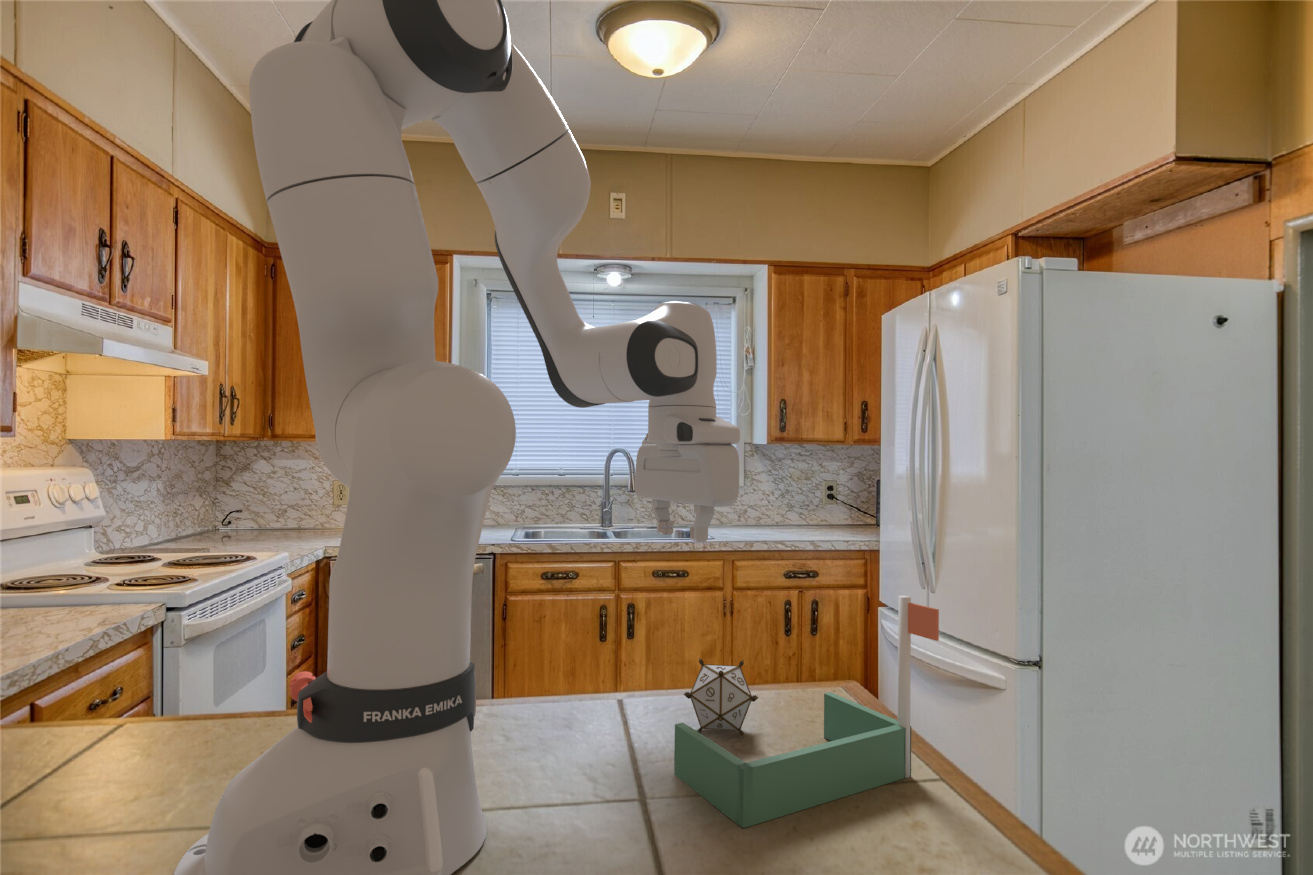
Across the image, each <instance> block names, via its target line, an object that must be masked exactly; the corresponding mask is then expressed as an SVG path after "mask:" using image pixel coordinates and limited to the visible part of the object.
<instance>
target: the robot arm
mask: <svg viewBox="0 0 1313 875" xmlns="http://www.w3.org/2000/svg"><path fill="white" fill-rule="evenodd" d="M511 39H512V38H511V32H510V25H509V21H508V16H507V14H506V11H505V7H504V4H503V2H502V0H330V1H329V3H327V4H326V6H325V7H323V9H322V10H321V11H320V12H319V13H318V14H317V16H316V17H315V18H314V20H312V21H310V22H308V23H306V24H305V25H304V26H303V27H302V28H301V29H300V31H299V32H298V33H297V35H296V37H295V38H294V40H293V42H289V43H285V44H282V45H280V46H278V47H275V48H272V49H271V50H269V51H268V52H266V53H265V54H264V55H262V57H260V58H259V60H258V61H257V62H256V64H255V65H254V67H253V69H252V71H251V74H250V78H249V82H248V84H249V85H248V86H249V88H248V90H249V108H250V118H251V119H250V120H251V126H252V129H251V130H252V136H253V137H252V138H253V144H254V149H255V155H256V161H257V166H258V171H259V177H260V181H261V185H262V189H263V190H262V191H263V193H264V197H265V200H266V201H265V202H266V205H267V208H268V211H269V216H270V219H271V223H272V226H273V230H274V234H275V237H276V241H277V245H278V248H279V252H280V256H281V260H282V263H283V266H284V269H285V274H286V278H287V281H288V284H289V288H290V292H291V297H292V300H293V306H294V309H295V313H296V320H297V325H298V331H299V341H300V348H301V349H300V350H301V354H302V356H301V357H302V362H303V364H302V365H303V368H304V369H303V370H304V376H305V381H306V389H307V394H308V399H309V404H310V405H309V406H310V410H311V416H312V421H313V425H314V433H315V443H316V448H317V451H318V454H319V456H320V459H321V460H322V462H323V464H324V465H325V467H326V468H327V470H328V471H329V472H330V473H331V475H332V476H334V478H335V479H337V481H338V482H340V483H341V484H342V485H344V486H346V487H347V488H349V489H348V490H349V491H348V492H349V493H348V501H347V507H346V512H345V519H344V525H343V528H342V534H341V539H340V543H339V548H338V552H337V556H336V560H335V562H334V565H333V568H332V569H331V572H330V576H329V590H328V591H329V592H328V596H329V597H328V620H327V621H328V622H327V623H328V625H327V626H328V628H327V634H328V635H327V664H326V665H327V666H326V667H327V668H326V669H327V670H326V671H325V672H323V673H322V674H321V675H318V676H317V677H316V676H315V675H313V672H310V671H306V670H305V671H300V672H298V673H295V674H294V675H293V678H291V679H290V681H289V682H290V683H289V684H288V686H289V694H290V697H291V698H292V699H293V700H294V701H296V702H297V703H296V722H297V726H296V727H294V728H293V729H292V730H291V731H289V732H288V733H287V734H285V735H284V736H282V738H281V739H279V740H278V741H276V743H275V744H273V745H272V746H271V747H270V748H268V749H267V750H265V751H264V752H263V753H262V754H261V755H259V756H258V757H257V758H256V759H254V760H253V761H252V762H250V763H249V764H248V765H247V766H245V767H244V768H243V769H242V770H240V771H239V772H238V773H237V774H236V775H235V776H234V777H233V778H232V779H231V780H230V782H229V783H228V784H227V786H226V788H225V789H224V791H223V794H222V795H221V797H220V798H219V802H218V804H217V805H216V808H215V811H214V813H213V817H212V820H211V823H210V827H209V831H208V833H206V834H205V835H203V836H202V837H201V838H200V839H198V840H197V841H196V842H195V843H193V844H192V845H191V846H190V847H189V848H188V850H186V851H185V853H184V854H183V855H182V857H181V858H180V860H179V861H178V864H177V865H176V867H175V869H174V872H173V873H172V875H452V874H453V873H454V872H457V870H459V869H460V868H461V867H462V866H464V865H465V864H467V862H469V860H471V859H472V858H473V857H474V856H475V855H476V854H477V853H478V851H479V850H480V849H481V847H482V846H483V844H484V841H486V840H485V839H486V837H487V830H488V829H487V823H486V819H485V817H484V813H483V810H482V805H481V801H480V796H479V791H478V786H477V778H476V772H475V766H474V756H473V747H472V746H473V745H472V733H471V732H473V730H474V725H475V724H474V723H475V717H476V711H477V677H476V670H475V665H476V664H475V663H473V661H471V660H470V659H471V636H472V635H471V633H472V632H471V631H472V630H471V629H472V603H473V602H472V598H473V596H472V595H473V580H474V578H473V577H474V570H475V563H476V557H477V550H478V547H479V543H480V540H481V535H482V530H483V526H484V522H485V519H486V515H487V511H488V507H489V503H490V499H491V495H492V493H493V492H492V491H493V489H494V486H495V485H496V482H497V481H498V480H499V478H500V477H501V475H502V474H503V473H504V471H505V470H506V468H507V467H508V465H509V462H510V461H511V459H512V457H513V453H514V450H515V445H516V440H517V439H516V438H517V437H516V436H517V427H516V420H515V415H514V412H513V410H512V406H511V404H510V403H509V401H508V398H507V396H505V394H504V392H503V391H502V389H501V388H500V387H499V386H498V385H497V384H496V383H494V382H493V380H491V379H490V378H488V376H485V375H484V374H482V373H480V372H478V371H476V370H473V369H470V368H468V367H464V366H462V365H458V364H456V363H455V364H454V363H451V362H446V361H439V360H436V344H435V342H436V341H435V340H436V339H435V308H436V302H437V298H438V293H439V278H438V272H437V268H436V264H435V261H434V257H433V252H432V249H431V248H432V247H431V244H430V240H429V236H428V232H427V228H426V224H425V218H424V217H423V211H422V208H421V204H420V199H419V194H418V190H417V187H416V183H415V179H414V177H413V172H412V169H411V164H410V162H409V161H410V160H409V159H408V156H407V151H406V149H405V146H404V143H403V140H402V130H405V129H407V128H409V127H412V126H414V125H416V124H419V123H420V122H426V121H429V120H432V121H433V122H435V123H436V125H439V126H440V127H441V128H442V129H444V130H445V131H446V132H447V133H448V134H449V135H450V138H451V140H452V142H453V144H454V146H455V148H456V149H457V151H458V154H459V156H460V157H461V159H462V162H463V163H464V165H465V167H466V169H467V171H468V172H469V174H470V175H471V177H472V180H473V181H474V182H475V184H476V186H477V187H478V189H479V191H480V192H481V195H482V197H483V199H484V201H485V204H486V206H487V208H488V210H489V212H490V215H491V219H492V221H493V223H494V229H495V231H494V243H495V249H496V252H497V255H498V259H499V261H500V263H501V265H502V268H503V270H504V273H505V276H506V277H507V279H508V281H509V284H510V286H511V288H512V290H513V293H514V295H515V296H516V298H517V301H518V303H519V305H520V307H521V309H522V310H523V313H524V315H525V317H526V319H527V321H528V323H529V325H530V328H531V329H532V332H533V334H534V336H535V338H536V340H537V342H538V345H539V347H540V350H541V353H542V356H543V360H544V364H545V368H546V372H547V374H548V379H549V381H550V383H551V386H552V387H553V390H554V391H555V392H556V394H557V395H558V396H559V397H560V398H561V400H563V401H564V402H565V403H566V404H568V405H570V406H573V407H575V408H579V409H580V408H581V409H584V408H586V409H587V408H590V407H595V406H596V407H597V406H602V405H606V404H619V403H631V402H632V403H633V402H638V401H648V407H647V410H648V411H647V412H648V414H647V415H648V416H647V417H648V420H647V422H648V423H647V433H646V435H645V437H644V440H642V443H641V445H640V446H639V447H638V451H637V455H636V462H635V472H634V491H635V494H636V497H637V498H641V499H648V500H651V509H652V511H653V514H654V515H653V516H654V517H655V518H654V519H655V520H656V533H657V534H659V535H663V536H666V535H667V536H669V535H672V534H673V533H674V520H671V516H670V511H669V508H671V502H672V503H678V504H680V503H681V504H687V505H693V514H695V519H694V523H693V526H689V534H690V535H689V539H690V541H692V542H697V543H704V542H705V543H706V542H707V541H708V539H709V527H710V526H711V522H712V520H713V518H714V515H715V508H719V507H720V508H723V507H732V506H734V505H735V504H736V502H737V500H738V498H739V493H740V457H739V456H740V455H739V451H738V449H737V447H736V446H735V445H738V444H739V443H740V440H741V439H740V438H741V430H740V428H739V426H737V425H735V424H733V423H731V422H729V421H727V420H725V419H724V418H721V417H720V416H717V402H716V399H715V393H714V386H715V381H716V378H717V371H718V370H717V343H716V333H715V328H714V322H713V319H712V315H711V313H710V312H709V311H708V310H707V308H704V307H703V306H701V305H698V304H696V303H693V302H687V301H681V300H673V301H672V300H671V301H666V302H662V303H660V304H658V305H657V306H656V307H655V309H654V310H653V311H651V313H648V314H646V315H644V316H642V317H639V318H636V319H632V320H629V321H623V322H618V323H616V324H610V325H603V326H597V327H596V326H593V325H590V324H588V323H587V322H586V321H584V320H583V319H582V318H581V317H580V315H579V313H578V311H577V309H576V306H575V304H574V301H573V299H572V297H571V294H570V292H569V289H568V288H567V285H566V283H565V280H564V278H563V276H562V273H561V271H560V268H559V264H558V252H559V248H560V246H561V244H562V242H564V240H565V239H566V238H567V237H568V235H569V234H570V233H572V231H573V230H574V229H575V228H576V227H577V226H578V224H579V223H580V221H581V219H582V218H583V216H584V214H585V213H586V212H585V211H586V209H587V206H588V203H589V199H590V193H591V185H592V184H591V183H592V182H591V177H590V173H589V169H588V166H587V163H586V160H585V157H584V155H583V153H582V151H581V149H580V147H579V145H578V143H577V141H576V139H575V138H574V136H573V134H572V132H571V129H570V128H569V126H568V125H567V124H568V123H567V122H566V120H565V119H564V117H563V115H562V113H561V111H560V110H559V107H558V106H557V104H556V103H555V101H554V99H553V97H552V96H551V95H550V93H549V91H548V89H547V88H546V86H545V85H544V83H543V82H542V80H541V79H540V78H539V76H538V75H537V74H536V72H535V71H534V69H533V67H532V66H531V65H530V63H529V62H528V61H527V60H526V58H525V57H524V56H523V54H522V53H521V52H520V51H519V50H518V48H517V47H516V46H515V45H514V44H513V43H512V42H511Z"/></svg>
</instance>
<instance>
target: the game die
mask: <svg viewBox="0 0 1313 875" xmlns="http://www.w3.org/2000/svg"><path fill="white" fill-rule="evenodd" d="M698 663H699V665H701V667H700V670H699V671H698V673H697V676H696V679H695V681H694V683H693V685H692V687H691V690H690V692H689V691H685V693H683V696H685V697H686V698H687V699H690V700H691V704H692V706H693V709H694V712H695V715H696V717H697V721H698V725H699V726H700V727H699V728H698V729H697V730H696V731H697V732H699V733H700V734H702V732H703V730H713V731H714V730H717V731H718V730H719V731H733V732H734V731H737V732H738V735H739V736H740V737H742V738H745V737H744V736H745V735H744V734H745V732H744V731H743V730H742V726H743V723H744V722H745V719H746V716H747V713H748V711H749V709H750V705H751V703H752V702H753V703H754V702H756V701H757V700H758V699H759V697H758V696H757V695H756V694H753V695H752V693H751V690H750V687H749V685H748V682H747V680H746V678H745V675H744V672H743V670H742V667H743V666H744V665H745V663H744V659H743V660H740V661H739V663H738V665H730V664H729V665H728V664H727V665H724V664H705V663H704V660H703V659H702V658H700V657H699V658H698Z"/></svg>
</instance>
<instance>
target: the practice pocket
mask: <svg viewBox="0 0 1313 875" xmlns="http://www.w3.org/2000/svg"><path fill="white" fill-rule="evenodd" d="M897 599H898V602H897V603H898V604H897V605H898V608H897V609H898V610H897V611H898V612H897V613H898V615H897V616H898V617H897V618H898V619H897V621H898V622H897V623H898V626H897V627H898V629H897V630H898V631H897V632H898V633H897V636H898V637H897V638H898V639H897V719H896V718H892V717H890V716H888V715H885V714H883V713H881V712H878V711H876V710H874V709H871V708H869V707H867V706H864V705H862V704H860V703H857V702H856V701H852V700H850V699H848V698H846V697H843V696H841V695H839V694H836V693H835V692H832V691H830V692H829V691H828V692H824V693H823V738H824V739H826V740H828V741H827V742H826V741H825V742H823V743H819V744H815V745H811V746H808V747H803V748H800V749H799V748H798V749H795V750H792V751H788V752H784V753H780V754H779V753H778V754H776V755H775V754H774V755H772V756H768V757H764V758H759V759H756V760H751V761H748V762H745V761H744V760H742V759H740V757H737V756H736V755H735V754H733V753H731V752H730V751H728V750H727V749H725V748H724V747H722V746H721V745H719V744H718V743H715V742H714V741H713V740H711V739H710V738H708V737H707V736H705V734H704V735H703V734H702V733H701V734H700V733H699V732H697V731H698V730H695V729H694V728H693V727H691V726H689V725H688V724H687V723H685V722H679V723H675V724H674V754H673V755H674V756H673V757H674V758H673V759H674V761H673V762H674V763H673V764H674V766H673V768H674V770H673V775H674V776H675V777H677V778H678V779H679V780H681V781H682V782H683V783H685V785H687V786H689V788H691V789H692V790H693V791H695V792H696V793H697V794H698V795H699V796H701V797H702V798H704V799H705V800H706V801H708V802H709V803H710V804H711V805H713V807H715V808H716V809H717V810H719V811H720V812H721V813H723V814H724V815H725V816H726V817H728V818H729V819H730V820H732V821H733V822H734V823H736V825H738V826H740V828H742V829H745V828H749V827H751V826H755V825H758V824H761V823H764V822H768V821H771V820H775V819H778V818H780V817H784V816H787V815H790V814H794V813H797V812H800V811H803V810H806V809H809V808H810V809H811V808H814V807H816V806H820V805H822V804H826V803H829V802H833V801H835V800H839V799H843V798H845V797H849V796H851V795H855V794H859V793H862V792H866V791H868V790H871V789H875V788H878V787H880V786H881V787H882V786H884V785H887V784H891V783H894V782H897V781H900V780H903V779H909V778H910V777H912V725H911V677H912V676H911V670H912V669H911V668H912V666H911V665H912V664H911V662H912V660H911V657H912V656H911V654H912V653H911V651H912V649H911V645H912V635H915V636H918V637H921V638H925V639H928V640H932V641H936V642H939V637H940V636H939V633H940V629H939V628H940V626H939V624H940V617H939V615H940V614H939V612H940V611H939V608H934V607H929V606H926V605H922V604H917V603H913V602H912V597H911V596H909V595H898V598H897ZM911 634H912V635H911Z"/></svg>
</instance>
